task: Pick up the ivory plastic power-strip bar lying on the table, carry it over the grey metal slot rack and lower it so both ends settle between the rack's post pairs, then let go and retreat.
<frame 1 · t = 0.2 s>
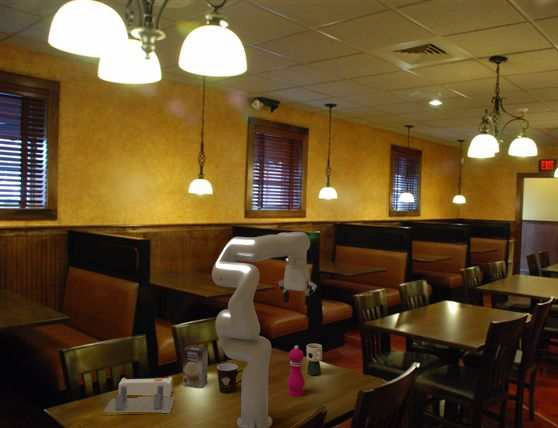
hand: (296, 303, 204), 37 cm above the table, tool pointing down, fingers open, 9 cm apart
coffee mug: (230, 391, 206), on the table
character mug: (314, 374, 227), on the table
strip bar: (145, 395, 201), on the table
slot rack: (140, 407, 189), on the table
pepper mill: (295, 394, 204), on the table
coffee box: (195, 385, 213), on the table
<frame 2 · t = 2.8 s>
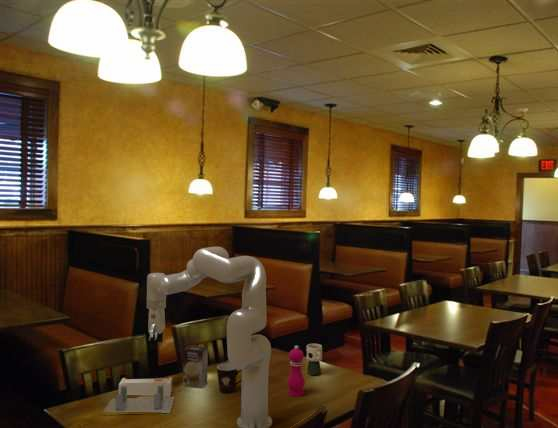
hand: (155, 345, 201), 20 cm above the table, tool pointing down, fingers open, 9 cm apart
nothing on the table moved.
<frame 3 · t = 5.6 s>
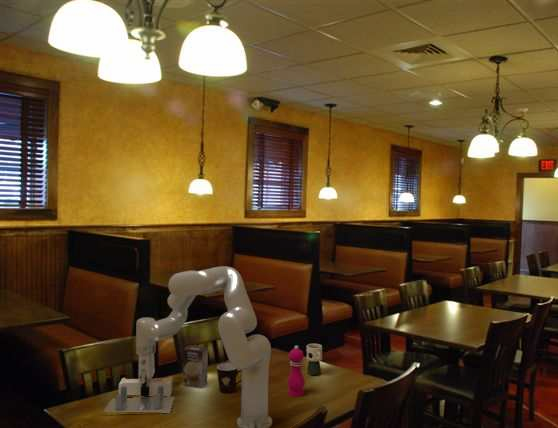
hand: (145, 393, 201), 1 cm above the table, tool pointing down, fingers closed on strip bar, 4 cm apart
strip bar: (145, 395, 201), on the table, touching gripper
everything else where it was.
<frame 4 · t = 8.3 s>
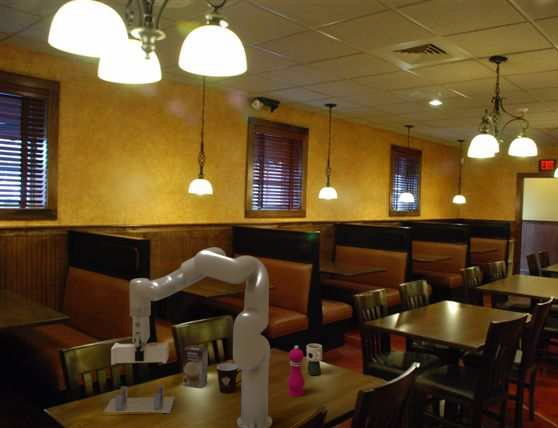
hand: (140, 358, 189), 19 cm above the table, tool pointing down, fingers closed on strip bar, 4 cm apart
strip bar: (140, 360, 189), point 18 cm above the table, touching gripper
everything else where it was.
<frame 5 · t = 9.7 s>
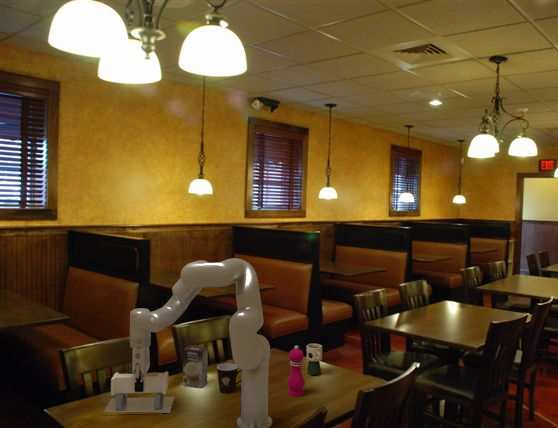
hand: (140, 388, 189), 7 cm above the table, tool pointing down, fingers closed on strip bar, 4 cm apart
strip bar: (140, 390, 189), point 7 cm above the table, touching gripper
everything else where it was.
when the fingers open (3 cm above the table, at t = 10.9 s): strip bar drops 1 cm, resting on slot rack.
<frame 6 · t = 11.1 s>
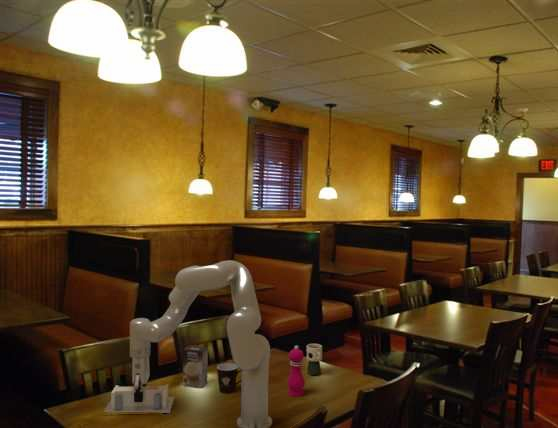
hand: (140, 397, 189), 4 cm above the table, tool pointing down, fingers open, 6 cm apart
strip bar: (140, 403, 189), point 1 cm above the table, touching slot rack
everything else where it was.
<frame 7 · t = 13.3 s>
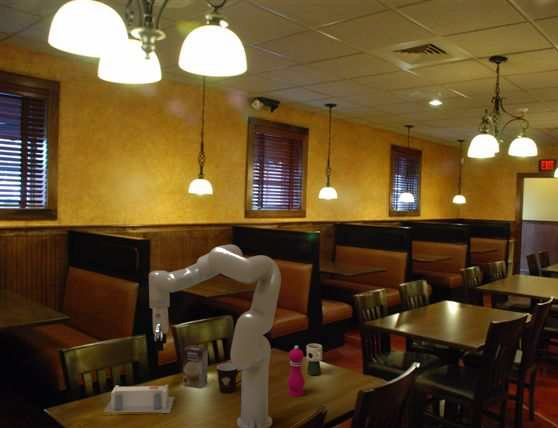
hand: (160, 347, 192), 22 cm above the table, tool pointing down, fingers open, 9 cm apart
nothing on the table moved.
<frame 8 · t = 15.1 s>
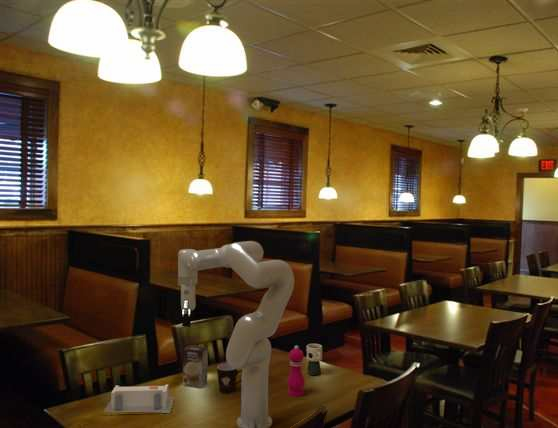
hand: (187, 323, 198), 30 cm above the table, tool pointing down, fingers open, 9 cm apart
nothing on the table moved.
at the end: strip bar 0.1 cm off-centre on the slot rack, point 1.5 cm above the slot rack's base; strip bar tilted 0°; the gripper is holding nothing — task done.
